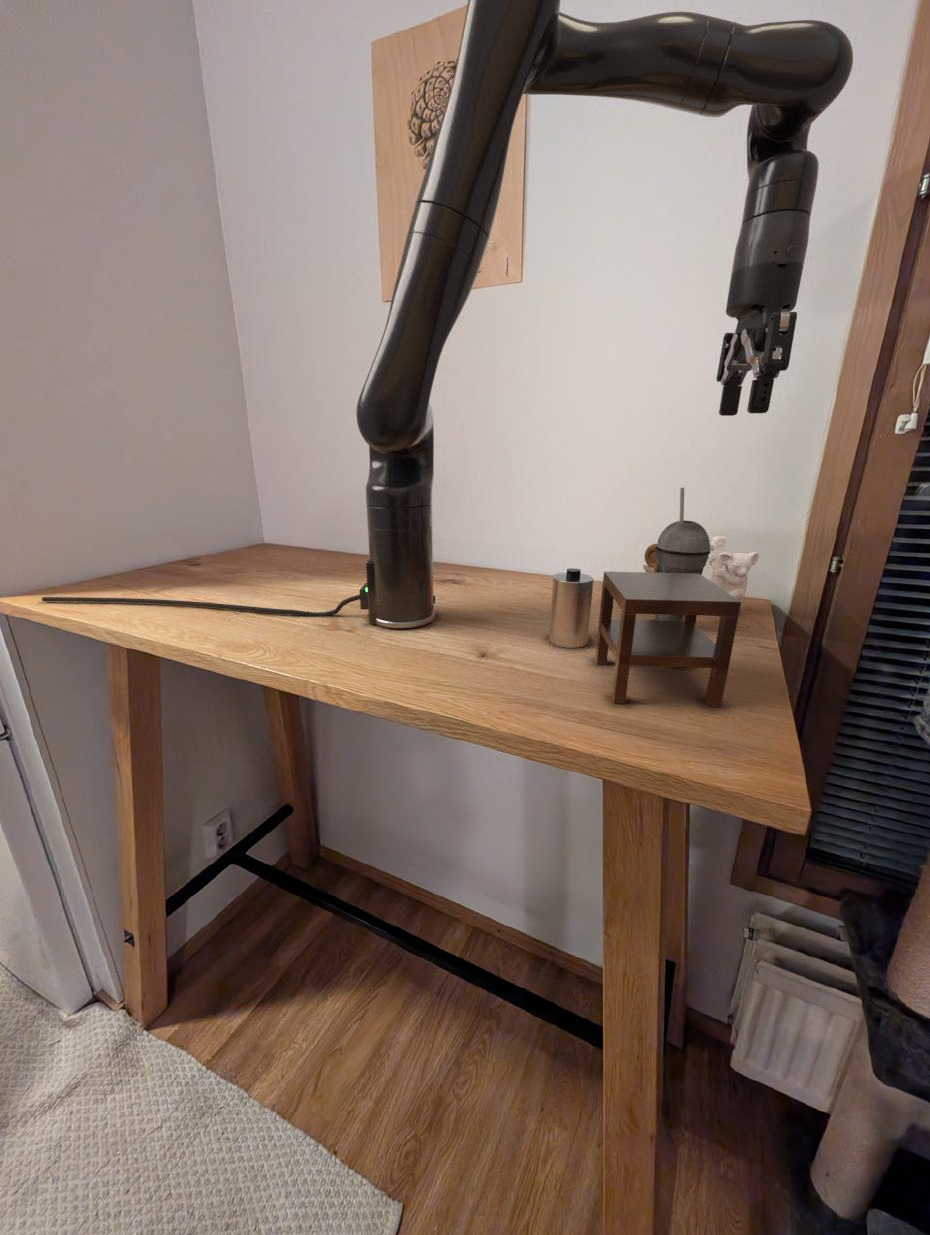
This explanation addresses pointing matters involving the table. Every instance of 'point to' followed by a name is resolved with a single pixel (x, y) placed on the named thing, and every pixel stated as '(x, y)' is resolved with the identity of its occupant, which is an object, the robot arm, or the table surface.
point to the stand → (665, 627)
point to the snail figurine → (650, 559)
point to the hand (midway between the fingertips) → (741, 414)
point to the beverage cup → (681, 550)
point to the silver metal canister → (570, 609)
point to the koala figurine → (730, 567)
